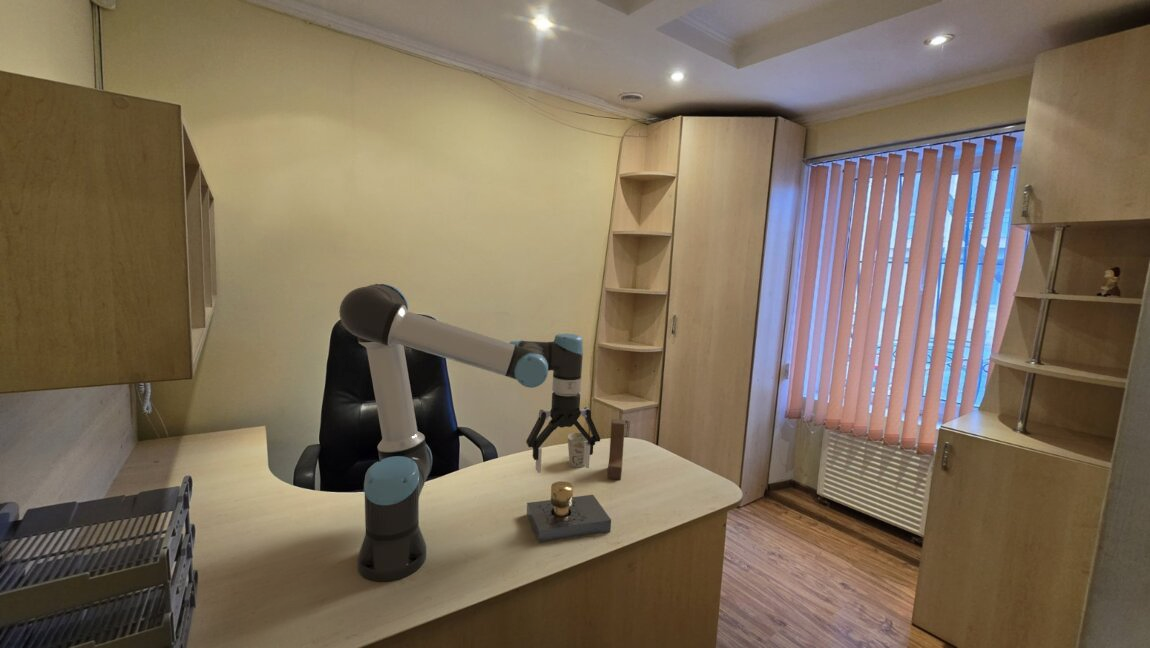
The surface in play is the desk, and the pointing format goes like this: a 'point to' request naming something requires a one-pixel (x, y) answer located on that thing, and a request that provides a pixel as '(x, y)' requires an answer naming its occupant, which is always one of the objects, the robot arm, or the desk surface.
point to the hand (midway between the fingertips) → (562, 468)
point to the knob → (561, 498)
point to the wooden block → (616, 449)
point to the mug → (576, 449)
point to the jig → (568, 519)
